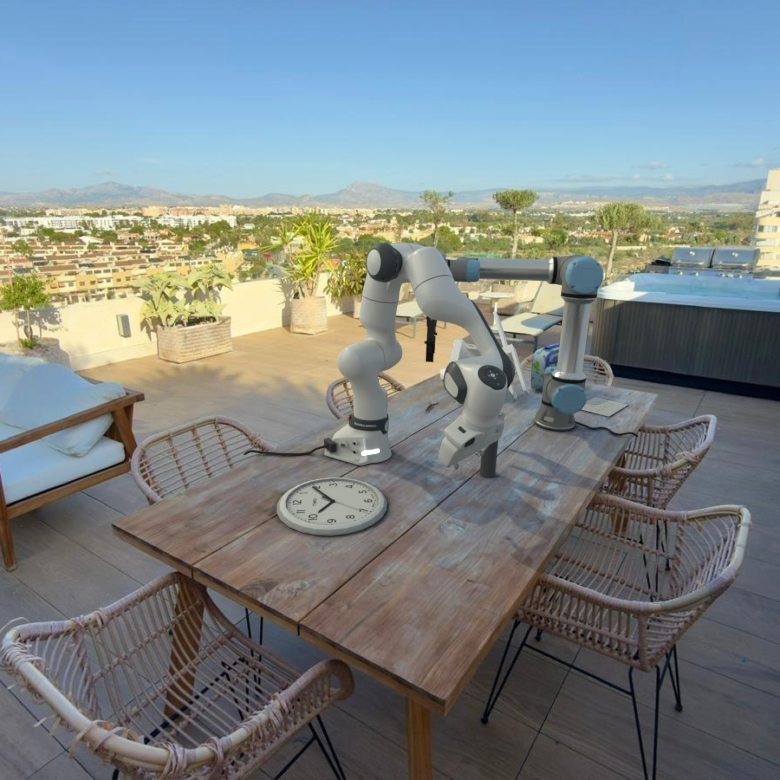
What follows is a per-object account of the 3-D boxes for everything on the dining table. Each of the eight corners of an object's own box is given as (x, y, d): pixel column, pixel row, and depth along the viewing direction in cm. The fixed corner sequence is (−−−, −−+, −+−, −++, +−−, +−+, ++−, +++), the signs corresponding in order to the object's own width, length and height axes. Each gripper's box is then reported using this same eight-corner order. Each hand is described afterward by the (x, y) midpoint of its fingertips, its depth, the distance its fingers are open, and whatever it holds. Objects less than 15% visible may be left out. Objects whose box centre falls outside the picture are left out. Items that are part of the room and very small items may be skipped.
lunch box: (547, 395, 239) (552, 351, 233) (526, 390, 247) (530, 347, 240) (574, 384, 257) (579, 343, 251) (554, 380, 264) (558, 339, 258)
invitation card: (608, 416, 214) (573, 407, 224) (608, 416, 214) (573, 408, 224) (628, 404, 229) (594, 396, 238) (628, 405, 229) (594, 397, 238)
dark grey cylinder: (498, 475, 162) (502, 429, 157) (487, 479, 159) (491, 432, 155) (487, 469, 166) (491, 424, 161) (476, 473, 163) (480, 427, 158)
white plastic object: (461, 429, 252) (437, 405, 227) (444, 352, 274) (420, 323, 250) (535, 404, 240) (518, 377, 215) (510, 326, 262) (492, 293, 237)
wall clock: (392, 527, 129) (268, 531, 127) (391, 533, 130) (269, 537, 127) (383, 473, 158) (282, 475, 155) (383, 478, 158) (282, 480, 156)
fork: (422, 411, 216) (422, 407, 215) (433, 400, 230) (433, 396, 230) (428, 412, 215) (429, 407, 215) (438, 401, 230) (439, 396, 229)
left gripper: (496, 402, 137) (484, 439, 146) (439, 431, 127) (430, 469, 135) (514, 416, 134) (501, 453, 143) (457, 447, 123) (446, 485, 132)
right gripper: (424, 293, 195) (422, 349, 202) (419, 302, 172) (417, 365, 178) (444, 294, 195) (441, 350, 201) (442, 303, 171) (439, 366, 177)
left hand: (466, 461), depth 139 cm, fingers open, 8 cm apart
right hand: (430, 357), depth 190 cm, fingers open, 13 cm apart
